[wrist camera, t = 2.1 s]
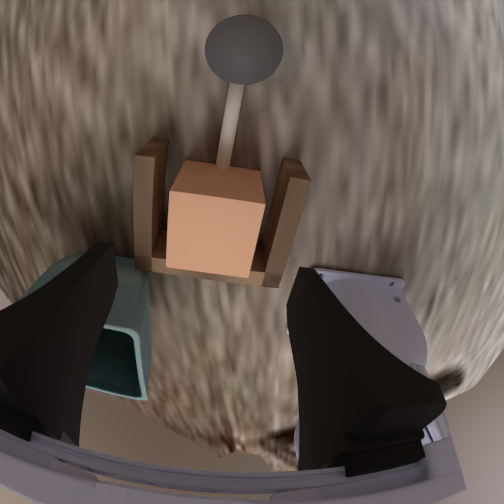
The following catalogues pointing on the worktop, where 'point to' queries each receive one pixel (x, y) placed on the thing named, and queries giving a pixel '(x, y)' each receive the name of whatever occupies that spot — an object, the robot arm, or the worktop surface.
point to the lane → (266, 253)
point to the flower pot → (119, 332)
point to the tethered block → (224, 163)
